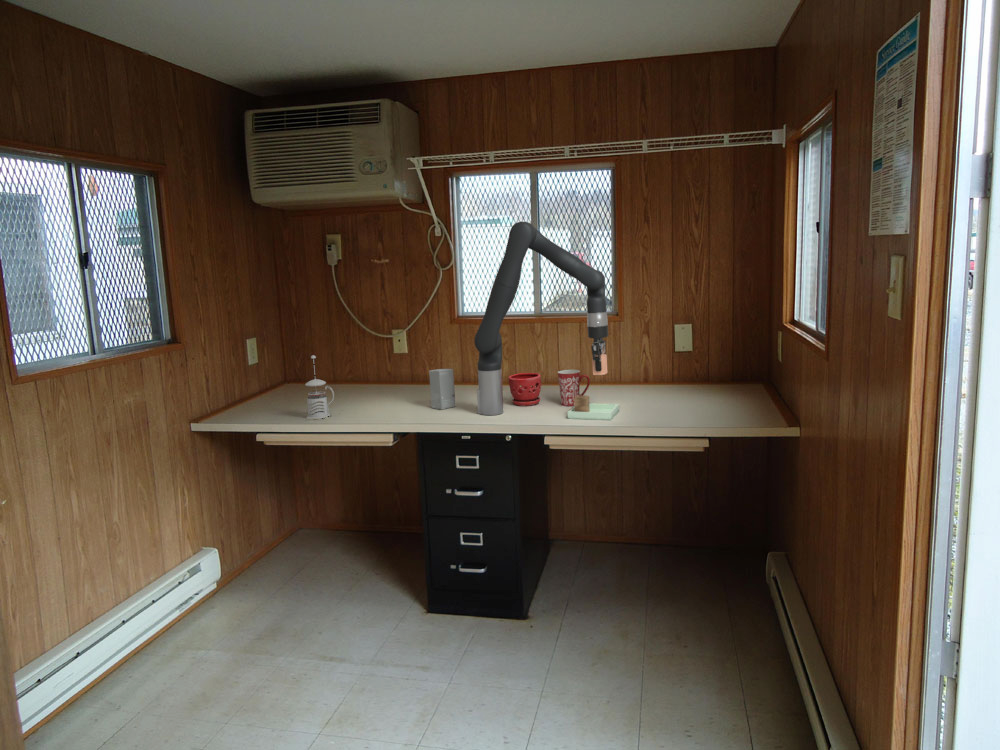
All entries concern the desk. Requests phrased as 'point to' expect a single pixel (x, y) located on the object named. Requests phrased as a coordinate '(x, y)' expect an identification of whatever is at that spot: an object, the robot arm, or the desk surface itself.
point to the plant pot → (525, 388)
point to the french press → (314, 399)
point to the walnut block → (581, 403)
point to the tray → (595, 412)
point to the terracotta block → (603, 364)
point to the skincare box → (442, 388)
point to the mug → (570, 386)
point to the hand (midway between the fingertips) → (600, 369)
